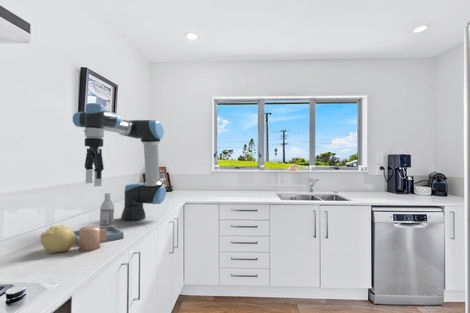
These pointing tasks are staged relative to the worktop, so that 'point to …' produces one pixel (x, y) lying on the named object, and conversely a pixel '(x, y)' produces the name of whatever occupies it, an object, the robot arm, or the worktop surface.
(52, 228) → the sculpture
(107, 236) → the tray
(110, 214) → the bath foam
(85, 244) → the peach tabbed round part
